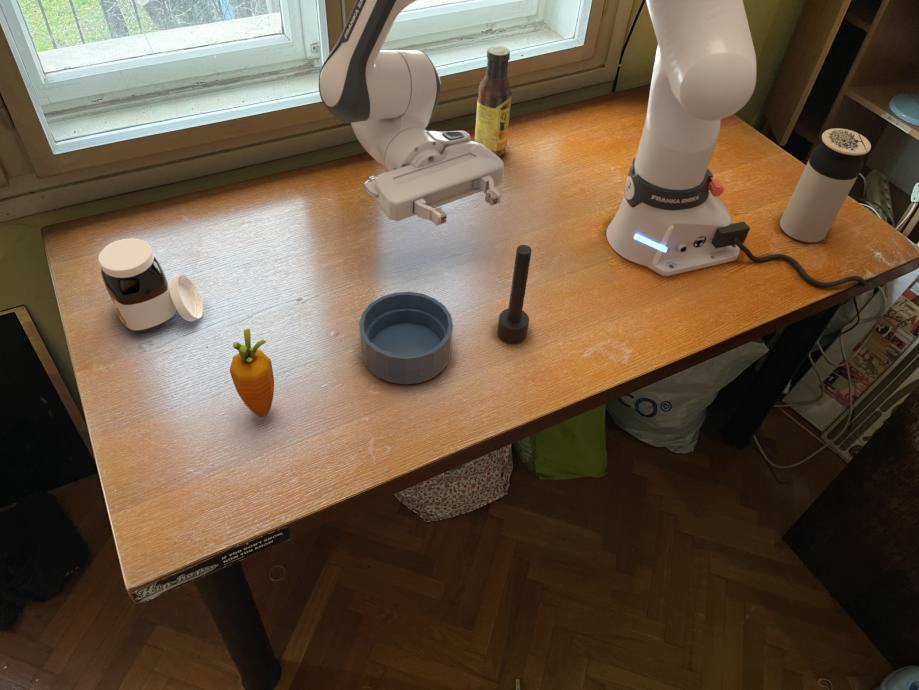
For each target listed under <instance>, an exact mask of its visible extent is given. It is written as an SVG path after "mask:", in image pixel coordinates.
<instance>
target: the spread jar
mask: <svg viewBox="0 0 919 690" xmlns="http://www.w3.org/2000/svg"><path fill="white" fill-rule="evenodd" d="M153 252H154V251H153V250H152V247H151V245H150V244H149V242H147V241H146V240H143V239H139V238H135V237H133V238H131V237H129V238H121V239H118V240H114V241H113V242H111V243H109V244H107V245H106V246H104V247H103V248H102V250H101V251H100V252H99V254H98V262H99V265H100V267H101V268H100V274H101V278H102V281H103V284H104V286H105V289H106V291H107V293H108V295H109V298H110V300H111V302H112V305H113V307H114V310H115V312H116V314H117V316H118V318H119V321H121V324H123V325H124V327H125V328H127V329H128V330H130V331H132V332H136V333H143V332H148V331H153V330H156V329H158V328H161V327H162V326H164V325H166V324H167V323H169V322H170V321H171V320H172V319H173V318H174V317H175V316H176V314H177V312H178V314H179V315H180V316H181V318H182V319H184V320H185V321H187V322H194V321H197V320H200V319H201V318H202V317H203V316H204V315H203V314H204V305H203V301H202V298H201V295H200V292H199V290H198V289H197V287H196V285H195V284H194V282H193V281H192V280H191V279H190V278H189V277H188V276H187V275H186V274H179V275H176V276H173V277H171V278H170V279H169V282H168V279H167V278H166V274H165V272H164V269H163V268H162V266H161V264H160V262H159V261H158V259H157V258H156V257H155V255H154V253H153Z"/></svg>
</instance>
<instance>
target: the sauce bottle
mask: <svg viewBox="0 0 919 690" xmlns="http://www.w3.org/2000/svg"><path fill="white" fill-rule="evenodd" d="M510 55H511V51H510V49H509V48H507V47H505V46H502V45H492V46H490V47H488V48H487V51H486V59H487V60H486V61H487V62H486V69H485V73H486V74H485V76H484V77H483V78H482V79H481V81H480V83H479V85H478V97H477V102H476V115H475V128H474V129H475V130H474V142H478V143H480V144H482V145H484V146H485V147H487V148H488V149H489V150H491V151H492V152H493V153H494V154H496V155H497V156H498V157H499V158H500V157H501V156H502V155H504V154H505V152H506V146H507V142H508V134H509V125H510V114H511V106H512V105H511V104H512V96H513V92H512V89H511V85H510V80H509V77H508V69H509V68H508V67H509V61H510V57H511V56H510Z"/></svg>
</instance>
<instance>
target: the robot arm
mask: <svg viewBox="0 0 919 690" xmlns="http://www.w3.org/2000/svg"><path fill="white" fill-rule="evenodd" d="M417 1H419V0H355V3H354V5H353V7H352V9H351V11H350V13H349V16H348V18H347V21H346V23H345V25H344V27H343V29H342V32H341V33H340V36H339V38H338V40H337V42H336V43H335V45H334V46H333V48H332V50H331V51H330V53H329V54H328V55H327V57H326V58H325V60H324V62H323V64H322V66H321V69H320V71H319V75H318V93H319V96H320V99H321V101H322V103H323V105H324V106H325V108H326V109H327V110H328V111H329V112H330V113H331V114H332V115H333V116H334V117H335V118H337V119H338V120H339V121H341V122H342V123H344V124H350V125H351V128H352V131H353V133H354V136H355V137H356V139H357V141H358V142H359V144H360V145H361V146H362V148H363V149H364V150H365V151H366V152H367V153H368V154H369V155H370V156H371V158H373V159H374V160H375V162H377V163H379V164H380V165H383V167H384V169H385V170H386V171H384V172H382V173H380V174H375V175H374V174H373V175H372V176H369V178H368V180H367V181H365V183H364V189H365V191H366V192H367V193H368V194H369V195H370V196H371V197H373V198H375V200H376V202H377V204H378V206H379V208H380V209H381V210H382V211H383V213H384V214H385V216H386V217H387V218H388V219H389V220H391V221H394V222H395V221H396V222H400V221H403V220H405V219H408V218H411V217H414V216H416V217H417V218H420V219H424V220H427V221H431V222H432V223H433V224H434V226H437V227H439V226H440V225H443V224H446V223H447V217H448V215H447V213H446V211H444V209H443V208H442V207H441V206H444V205H448V204H450V203H454V202H456V201H458V200H461V199H464V198H467V197H469V196H473V195H475V194H478V193H481V192H482V193H483V194H485V196H484V202H486V203H487V204H488V205H489V206H495V205H497V204H500V203H501V193H500V192H499V191H498V190H497V189H496V188H495V187H498V186H500V185H502V183H503V179H504V174H505V164H504V161H503V160H502V158H500V156H499V157H498V156H497V155H496V154H494V153H493V152H492V151H491V150H489V149H488V148H487V147H485V146H484V145H482V144H480V143H478V142H475V140H474V141H472V140H471V135H470V133H469V132H467V131H465V130H453V131H452V130H451V131H436V130H426V129H427V128H428V126H429V125H430V123H431V122H432V120H433V117H434V114H435V112H436V110H437V108H438V106H439V102H440V99H441V94H442V81H441V77H440V73H439V72H438V68H437V67H436V65H435V63H434V61H433V60H432V59H431V58H430V56H429V55H428V54H426V53H425V52H424V51H422V50H408V49H407V50H402V49H392V50H382V48H383V46H384V44H385V42H386V40H387V38H388V36H389V33H390V32H391V30H392V27H393V25H394V23H395V22H396V19H397V18H398V16H399V15H400V14H401V13H402V12H403V11H404V10H405V9H407V8H408V7H410V5H412V4H414V3H416V2H417ZM645 2H646V6H647V9H648V13H649V16H650V20H651V23H652V28H653V31H654V35H655V37H656V41H657V47H656V52H655V59H654V62H653V63H654V64H653V69H652V76H651V80H650V81H651V82H650V87H649V95H648V101H647V109H646V114H645V115H646V116H645V120H644V124H643V128H642V132H641V136H640V140H639V144H638V146H637V147H638V148H637V151H636V156H635V157H634V158H633V159H632V161H631V164H630V168H629V171H628V174H627V178H626V181H625V185H624V191H623V194H624V195H623V198H622V200H621V202H620V205H619V207H618V209H617V211H616V213H615V215H614V216H613V218H612V220H611V222H610V223H609V224H608V226H607V228H606V231H605V232H606V233H605V236H606V240H607V242H608V244H609V246H610V247H611V248H612V249H613V251H614V252H615V253H616V254H618V255H619V256H620V257H622V258H624V259H626V260H627V261H630V262H631V263H634V264H637V265H640V266H643V267H646V268H648V269H650V270H651V271H653V272H654V273H656V274H658V275H659V276H662V277H670V276H674V275H678V274H684V273H688V272H692V271H696V270H699V269H700V270H701V269H706V268H710V267H714V266H717V265H723V264H726V263H731V262H734V261H737V260H738V259H739V256H740V250H741V251H742V253H744V255H746V257H747V258H748V259H749V260H750V261H752V262H754V263H764V262H765V263H766V262H768V261H773V260H783V261H785V262H788V263H789V264H791V265H792V266H793V267H794V268H795V269H796V270H797V272H798V273H799V275H800V276H801V277H802V278H803V279H804V280H805V281H806V282H808V283H809V284H810V285H813V286H815V287H819V288H833V287H839V286H842V285H844V284H847V283H850V282H858V283H859V284H860V285H862V286H867V285H868V283H867V281H866V280H865V279H864V278H863V277H862V276H860V275H850V276H846V277H843V278H840V279H837V280H834V281H833V280H832V281H827V282H826V281H819V280H817V279H814V278H813V277H811V276H810V275H809V274H808V273H807V272H806V270H805V269H804V267H802V265H801V264H800V263H799V262H798V260H796V259H794V258H793V257H791V256H789V255H786V254H782V253H774V254H769V255H765V256H756V255H754V254H753V253H752V252H751V250H750V249H749V248H748V247H747V246H745V245H744V243H745V241H746V239H747V237H748V235H749V232H750V230H751V227H750V226H749V225H748V224H747V223H746V222H745V221H741V222H735V223H733V220H732V216H731V213H730V211H729V209H728V208H727V206H726V204H725V203H724V202H723V201H722V199H721V198H720V196H722V195H723V194H724V192H725V187H724V185H722V183H721V181H720V180H719V179H714V175H713V173H712V172H711V171H710V169H709V165H710V163H711V160H712V158H713V154H714V151H715V148H716V146H717V142H718V140H719V137H720V133H721V126H722V125H721V121H722V120H723V119H726V118H728V117H729V118H730V117H731V116H732V115H734V114H736V113H737V112H739V111H740V110H741V109H743V108H744V107H745V106H746V104H747V103H748V102H749V101H750V99H751V98H752V95H753V94H754V91H755V89H756V84H757V71H758V69H757V65H758V64H757V56H756V50H755V46H754V42H753V38H752V33H751V30H750V25H749V20H748V17H747V13H746V8H745V4H744V0H645Z"/></svg>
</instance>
